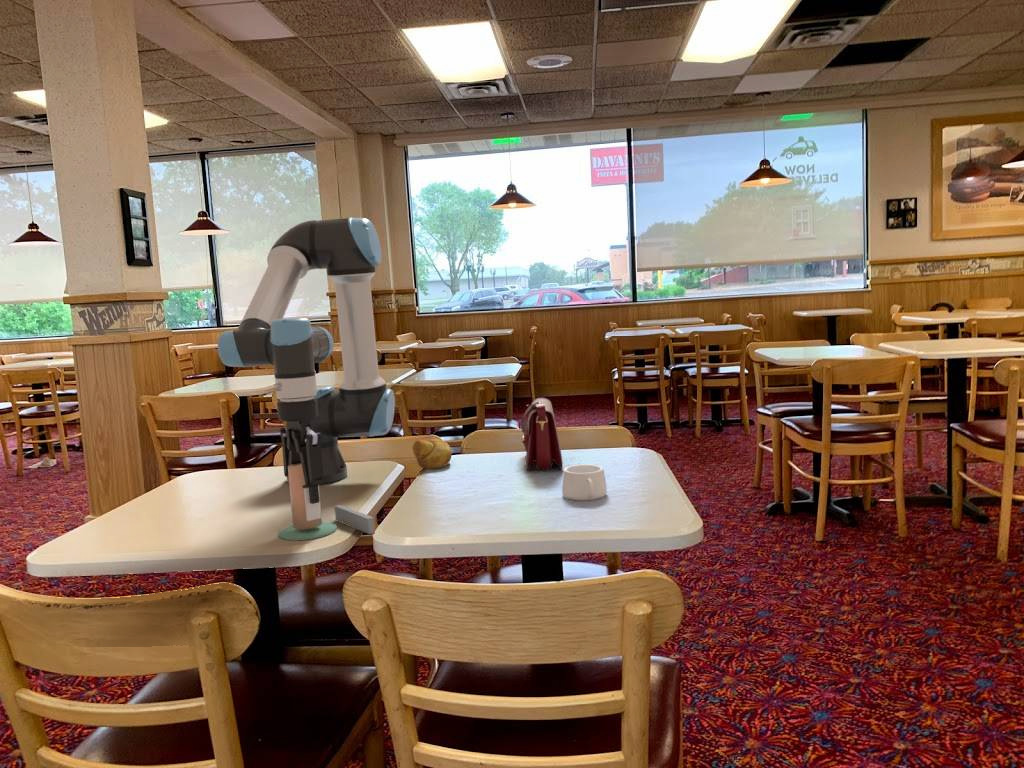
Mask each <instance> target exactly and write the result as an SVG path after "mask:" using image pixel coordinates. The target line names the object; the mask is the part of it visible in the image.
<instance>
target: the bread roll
mask: <svg viewBox="0 0 1024 768" xmlns="http://www.w3.org/2000/svg"><path fill="white" fill-rule="evenodd" d="M412 451H413V454H414V457H415V459H416V461H417V464H418V466H419V467H420V468H422V469H427V470H430V469H438V468H439V469H440V468H444V467H446V466H447V465H448V464H449V463H450V461H451V459H452V448H451V447H450V445H449V444H448V442H446V441H444V440H442V439H439V438H430V439H427V440H423V439H418V440H416V441H414V442H413V444H412Z"/></svg>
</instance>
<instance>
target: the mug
mask: <svg viewBox="0 0 1024 768" xmlns="http://www.w3.org/2000/svg"><path fill="white" fill-rule="evenodd" d="M562 472H563V475H562V486H561V489H562V490H561V491H562V492H561V493H562V496H563V497H564V498H566V499H567V500H570V501H571V500H572V501H592V500H593V501H594V500H599V499H601V498H604V497H605V496H606V494H607V493H608V491H607V482H606V475H605V470H604V468H603V466H600V465H597V464H588V463H587V464H575V465H570V466H567V467H565V468H563V471H562Z"/></svg>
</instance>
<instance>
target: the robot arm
mask: <svg viewBox="0 0 1024 768" xmlns="http://www.w3.org/2000/svg"><path fill="white" fill-rule="evenodd" d="M267 254H268V255H267V257H266V262H267V268H265V272H264V273H263V276H262V277H261V280H260V281H259V284H258V286H257V288H256V290H255V292H254V295H253V297H252V299H251V300H250V302H249V305H248V308H246V312H245V313H244V315H243V318H242V320H241V321H240V324H239V325H238V328H237V329H231V330H225V331H223V332H222V333H220V335H219V337H218V340H217V353H218V356H219V358H220V361H221V363H222V364H224V365H225V366H227V367H231V368H232V367H235V368H237V367H239V368H247V367H248V368H249V367H261V366H262V367H263V366H264V367H266V366H273V372H274V374H273V375H274V380H275V381H274V384H273V389H275V395H276V396H275V397H276V398H277V399H279V401H277V403H276V406H277V410H276V411H277V418H278V420H279V421H280V422H286V424H285V427H280V428H279V434H280V439H281V448H282V462H283V475H284V477H285V478H286V482H287V483H288V484H289V474H288V466H289V465H291V464H296V463H301V464H302V468H303V473H304V478H305V483H306V485H303V486H302V487H303V488H304V497H305V509H306V520H307V521H310V520H314V519H319V518H321V516H322V509H320V504H321V496H320V497H319V492H320V486H321V485H323V484H324V485H325V484H329V483H333V482H337V481H341V480H343V479H345V478H347V477H348V466H347V464H346V462H345V460H344V457H343V455H342V452H341V450H340V447H339V440H338V439H339V438H350V437H351V438H354V437H370V438H372V437H375V436H376V437H377V436H384V435H387V434H388V433H389V431H390V430H391V429H392V425H393V421H394V416H395V409H396V397H395V392H394V390H393V389H391V388H387V383H386V380H384V379H383V378H382V377H381V376H380V373H379V363H378V351H377V342H376V331H375V319H374V310H373V309H374V307H373V298H372V287H371V286H372V285H371V280H372V278H373V277H374V276H375V275H376V267H378V266H381V264H382V260H383V258H382V255H383V253H382V247H381V242H380V238H379V235H378V232H377V230H376V227H375V226H374V224H373V223H372V221H370V219H369V218H368V219H367V218H366V217H365V218H364V217H348V218H335V219H321V220H320V219H319V220H316V219H315V220H314V219H313V220H306V221H303V222H300V223H298V224H296V225H294V226H292V227H291V228H289V229H288V230H287V231H286V232H284V233H283V234H282V235H281V236H280V237H278V239H277V240H276V241H275V242H274V243H273V245H271V249H270V251H269V252H268V253H267ZM318 269H319V270H322V269H323V270H324V269H325V270H326V274H327V277H328V278H329V279H330V280H331V281H332V282H333V283H334V289H335V290H334V291H335V298H336V299H335V300H336V309H337V319H338V328H339V337H340V338H339V340H340V348H341V358H342V366H343V367H342V368H343V377H344V378H343V380H342V381H341V383H340V384H339V385H338V390H339V391H335V388H334V386H333V385H327V386H326V385H325V386H321V387H320V386H319V387H317V378H316V369H315V363H316V364H318V363H319V364H320V363H321V362H323V361H324V360H326V359H327V358H329V357H330V356H331V354H332V353H333V350H334V348H335V347H334V346H335V343H334V338H333V336H332V334H331V332H329V330H327V329H326V328H324V327H322V326H318V325H316V324H315V325H312V324H311V320H310V319H309V318H306V317H300V318H299V317H297V318H294V317H293V318H284V317H285V314H286V312H287V310H288V308H289V304H290V303H291V300H292V298H293V295H294V293H295V290H296V289H297V285H298V283H299V281H300V280H301V279H303V278H305V276H306V275H307V274H308V272H309V271H311V270H318Z"/></svg>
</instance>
